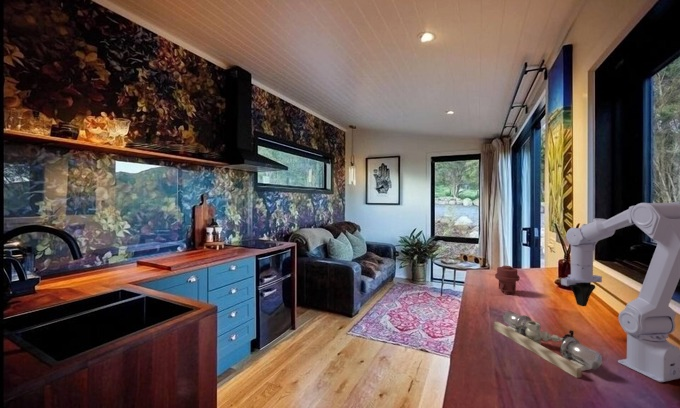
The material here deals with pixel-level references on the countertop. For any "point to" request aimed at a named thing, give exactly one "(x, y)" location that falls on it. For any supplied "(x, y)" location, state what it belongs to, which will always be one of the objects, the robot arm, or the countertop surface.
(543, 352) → the backing rail
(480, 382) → the countertop surface
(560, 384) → the countertop surface
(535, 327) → the valve
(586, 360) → the pipe line
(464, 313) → the countertop surface
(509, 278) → the mechanical component
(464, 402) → the countertop surface
